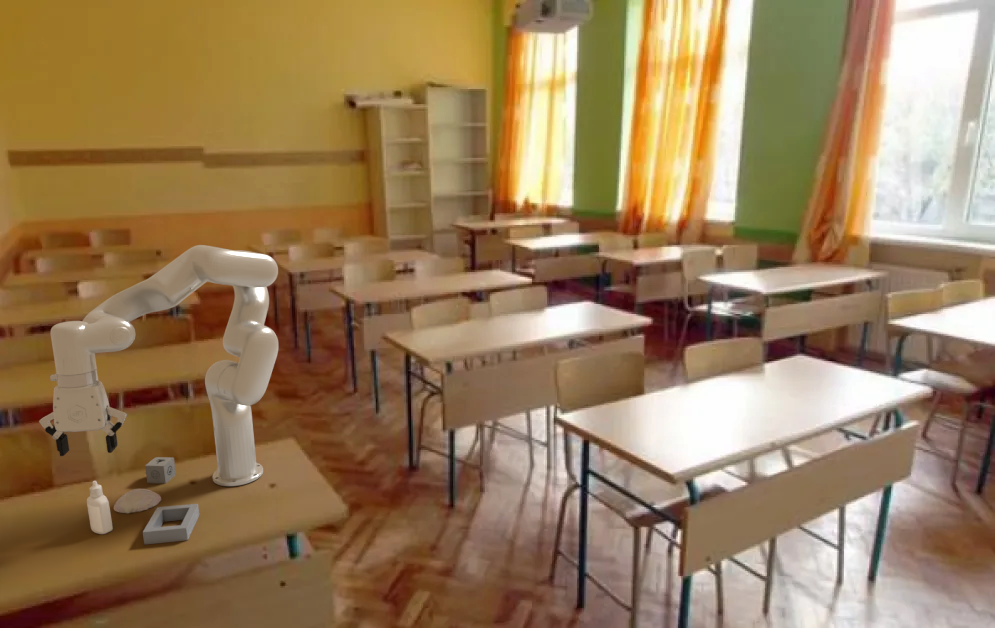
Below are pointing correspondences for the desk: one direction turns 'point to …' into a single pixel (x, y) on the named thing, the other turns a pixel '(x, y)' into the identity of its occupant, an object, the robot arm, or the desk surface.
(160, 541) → the bottle holder
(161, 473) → the dice cube
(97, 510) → the eye dropper bottle
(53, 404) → the robot arm
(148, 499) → the seashell
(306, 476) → the desk surface
